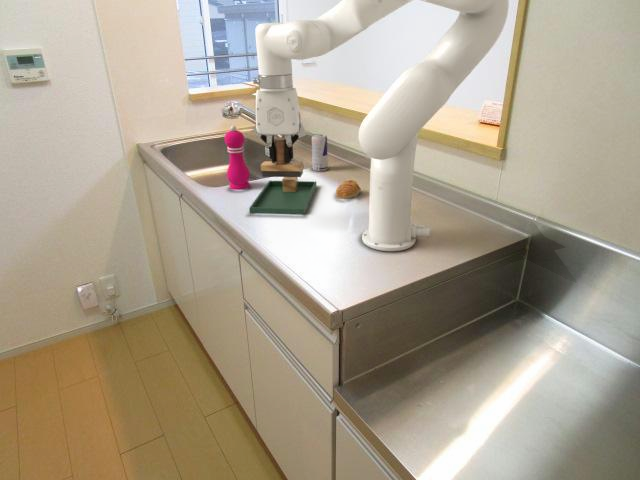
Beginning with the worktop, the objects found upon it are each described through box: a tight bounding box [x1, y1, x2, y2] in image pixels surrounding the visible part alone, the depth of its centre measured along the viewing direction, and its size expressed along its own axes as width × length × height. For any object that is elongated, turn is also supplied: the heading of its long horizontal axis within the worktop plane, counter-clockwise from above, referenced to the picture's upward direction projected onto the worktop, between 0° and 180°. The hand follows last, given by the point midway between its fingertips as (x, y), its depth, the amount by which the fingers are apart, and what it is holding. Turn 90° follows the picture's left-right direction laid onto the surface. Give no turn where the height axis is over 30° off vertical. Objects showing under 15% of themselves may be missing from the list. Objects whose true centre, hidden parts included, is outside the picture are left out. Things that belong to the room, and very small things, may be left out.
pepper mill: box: [224, 124, 251, 191], centre depth 140 cm, size 7×7×20 cm
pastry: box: [336, 179, 361, 200], centre depth 134 cm, size 9×7×4 cm
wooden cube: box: [281, 177, 299, 192], centre depth 138 cm, size 4×4×4 cm
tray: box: [249, 180, 317, 216], centre depth 132 cm, size 15×23×2 cm, turn 172°
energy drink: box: [311, 133, 329, 172], centre depth 158 cm, size 5×5×12 cm
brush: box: [260, 137, 304, 178], centre depth 110 cm, size 10×4×9 cm, turn 81°
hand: (281, 160), depth 110 cm, fingers closed on brush, 2 cm apart
